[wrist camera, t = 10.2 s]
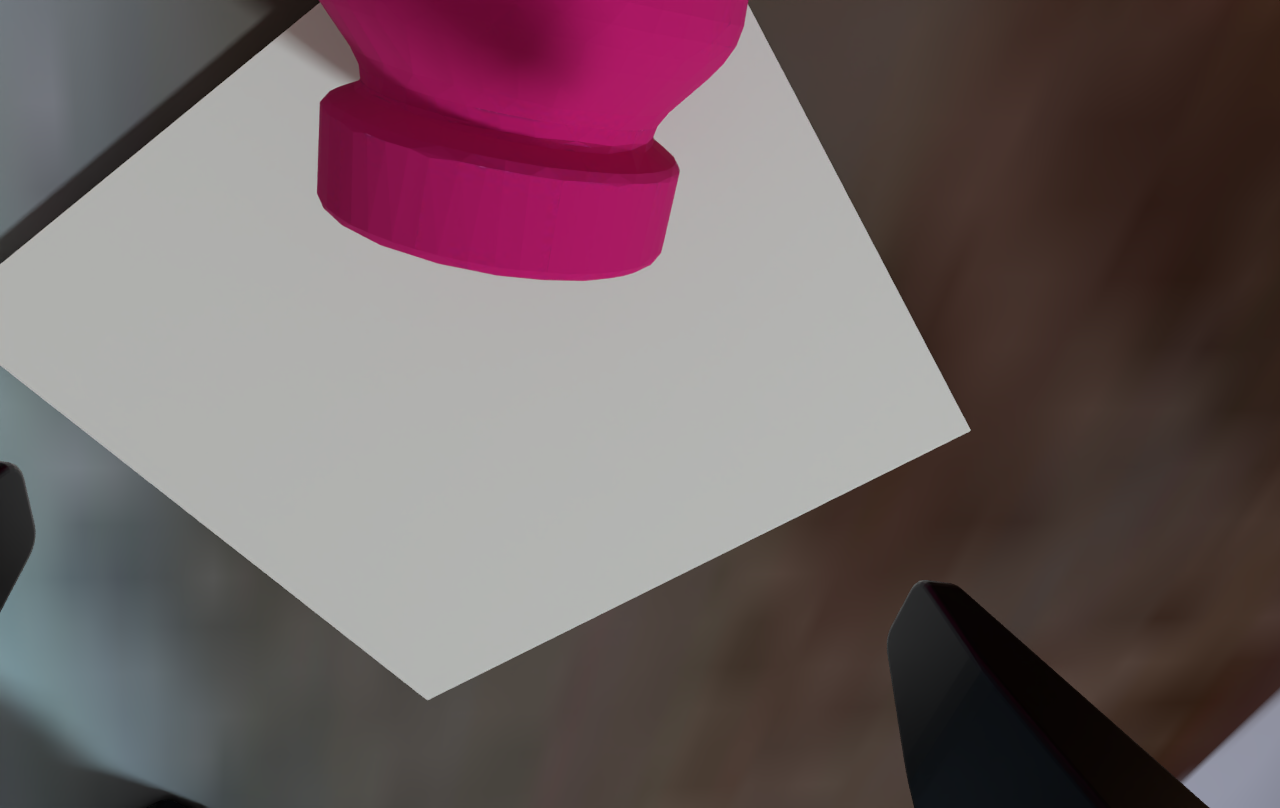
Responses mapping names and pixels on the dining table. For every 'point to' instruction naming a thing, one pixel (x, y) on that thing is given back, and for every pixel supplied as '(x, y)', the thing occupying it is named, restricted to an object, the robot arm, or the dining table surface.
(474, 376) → the grey mat
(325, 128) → the pepper mill
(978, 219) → the dining table surface
